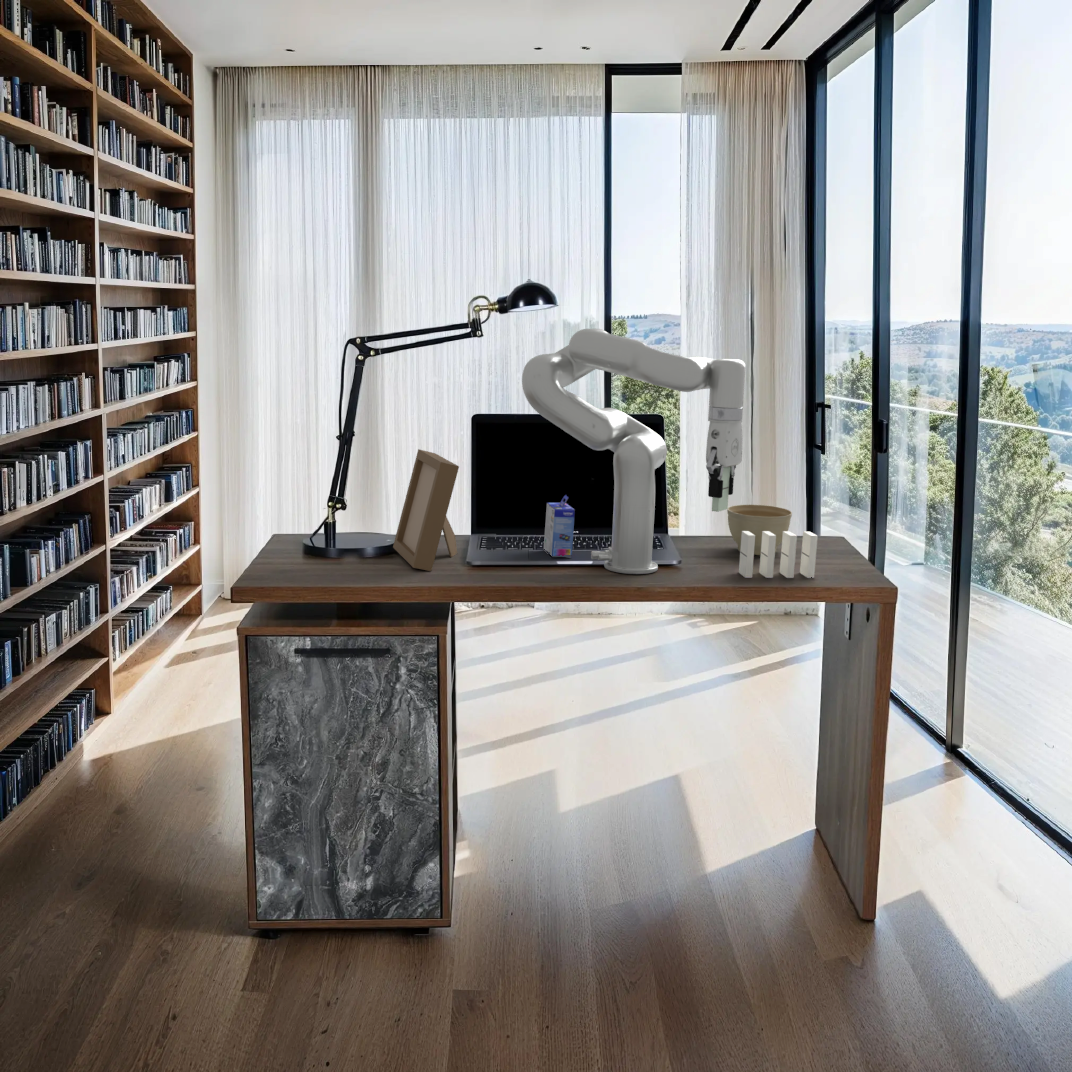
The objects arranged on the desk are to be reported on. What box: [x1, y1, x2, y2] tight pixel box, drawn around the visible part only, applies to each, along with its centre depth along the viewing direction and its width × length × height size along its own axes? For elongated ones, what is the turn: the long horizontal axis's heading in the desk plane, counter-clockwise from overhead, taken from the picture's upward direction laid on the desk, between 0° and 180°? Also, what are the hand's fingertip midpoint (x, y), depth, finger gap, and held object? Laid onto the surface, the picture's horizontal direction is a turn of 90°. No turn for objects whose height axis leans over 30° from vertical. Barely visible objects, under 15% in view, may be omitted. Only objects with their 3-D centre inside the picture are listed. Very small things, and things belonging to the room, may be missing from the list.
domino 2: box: [738, 531, 755, 579], centre depth 264 cm, size 2×5×10 cm, turn 8°
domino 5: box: [799, 530, 819, 579], centre depth 266 cm, size 2×5×10 cm, turn 8°
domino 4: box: [779, 530, 798, 579], centre depth 266 cm, size 2×5×10 cm, turn 8°
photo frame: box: [392, 448, 460, 572], centre depth 267 cm, size 15×22×25 cm
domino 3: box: [758, 531, 776, 579], centre depth 265 cm, size 2×5×10 cm, turn 8°
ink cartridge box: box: [543, 494, 576, 556], centre depth 279 cm, size 10×6×14 cm, turn 11°
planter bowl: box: [726, 504, 793, 556], centre depth 290 cm, size 16×16×11 cm
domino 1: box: [711, 467, 730, 513], centre depth 256 cm, size 2×5×10 cm, turn 146°
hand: (720, 494), depth 257 cm, fingers closed on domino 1, 4 cm apart
